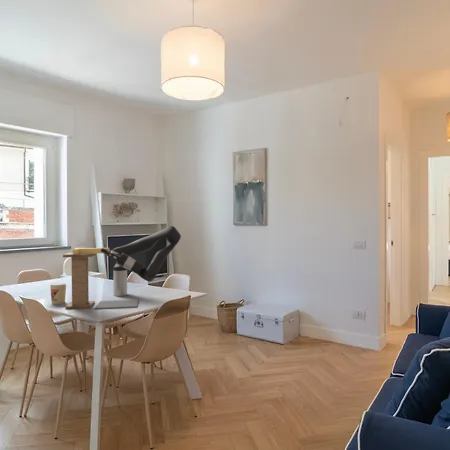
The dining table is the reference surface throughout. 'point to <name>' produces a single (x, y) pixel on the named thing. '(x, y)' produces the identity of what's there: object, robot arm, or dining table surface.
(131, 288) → the dining table surface
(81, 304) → the walnut stand
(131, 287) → the dining table surface
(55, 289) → the coffee cup
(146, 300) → the dining table surface
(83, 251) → the mustard bar
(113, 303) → the grey mat
